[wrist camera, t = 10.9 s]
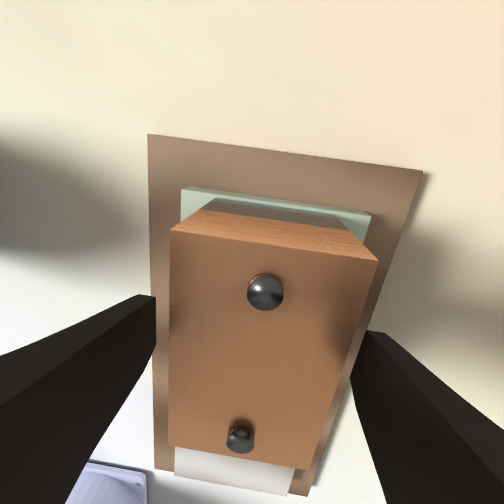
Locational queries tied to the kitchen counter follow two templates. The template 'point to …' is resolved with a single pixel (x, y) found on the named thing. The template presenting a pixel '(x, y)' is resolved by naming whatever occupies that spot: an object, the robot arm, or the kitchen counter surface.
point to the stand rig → (276, 194)
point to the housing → (260, 327)
